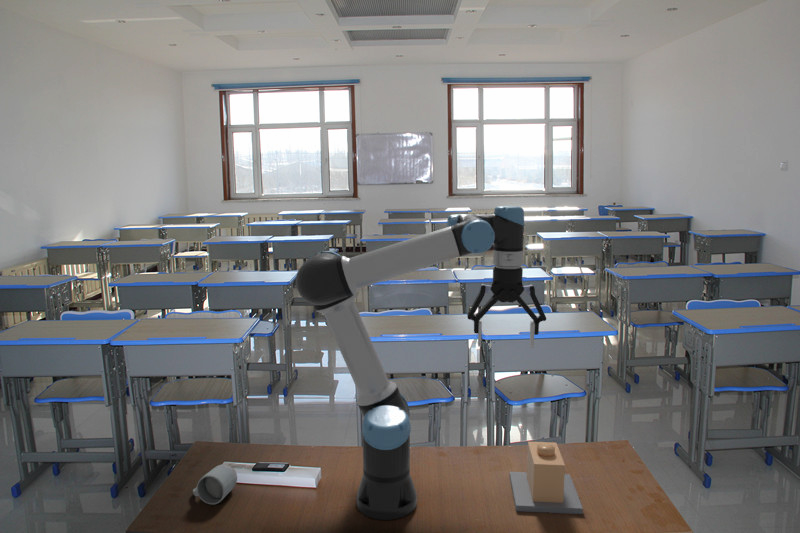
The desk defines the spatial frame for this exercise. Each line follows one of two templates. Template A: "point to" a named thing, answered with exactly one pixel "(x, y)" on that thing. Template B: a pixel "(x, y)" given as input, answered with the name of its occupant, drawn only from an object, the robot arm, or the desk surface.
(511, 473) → the grey square plate
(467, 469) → the desk surface
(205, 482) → the ceramic mug
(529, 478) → the tan block with dome
